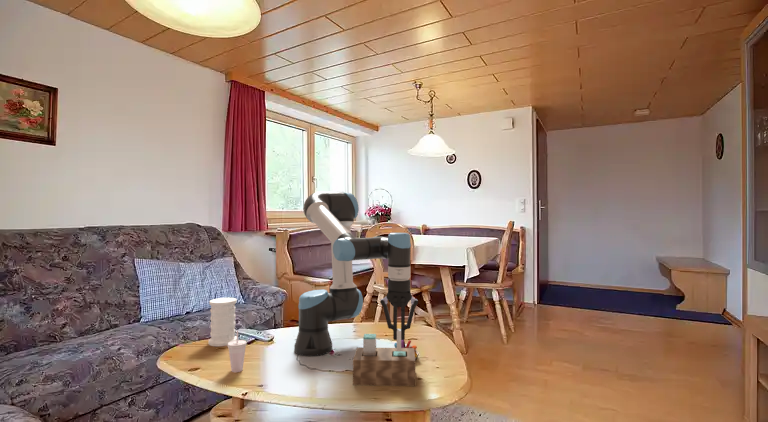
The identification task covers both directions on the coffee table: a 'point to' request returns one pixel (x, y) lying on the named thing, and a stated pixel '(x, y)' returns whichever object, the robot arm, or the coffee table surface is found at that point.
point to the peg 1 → (369, 345)
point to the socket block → (384, 368)
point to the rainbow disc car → (407, 346)
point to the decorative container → (222, 321)
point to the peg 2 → (399, 354)
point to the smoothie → (237, 354)
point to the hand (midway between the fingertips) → (398, 349)
